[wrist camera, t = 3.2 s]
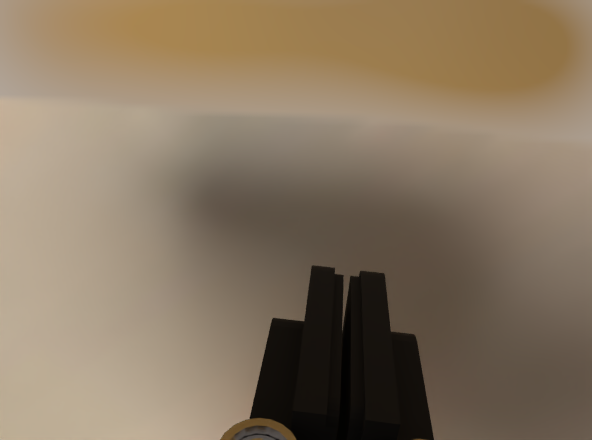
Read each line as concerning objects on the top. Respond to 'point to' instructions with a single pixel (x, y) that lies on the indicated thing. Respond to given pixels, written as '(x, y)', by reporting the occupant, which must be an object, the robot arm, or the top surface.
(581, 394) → the top surface
